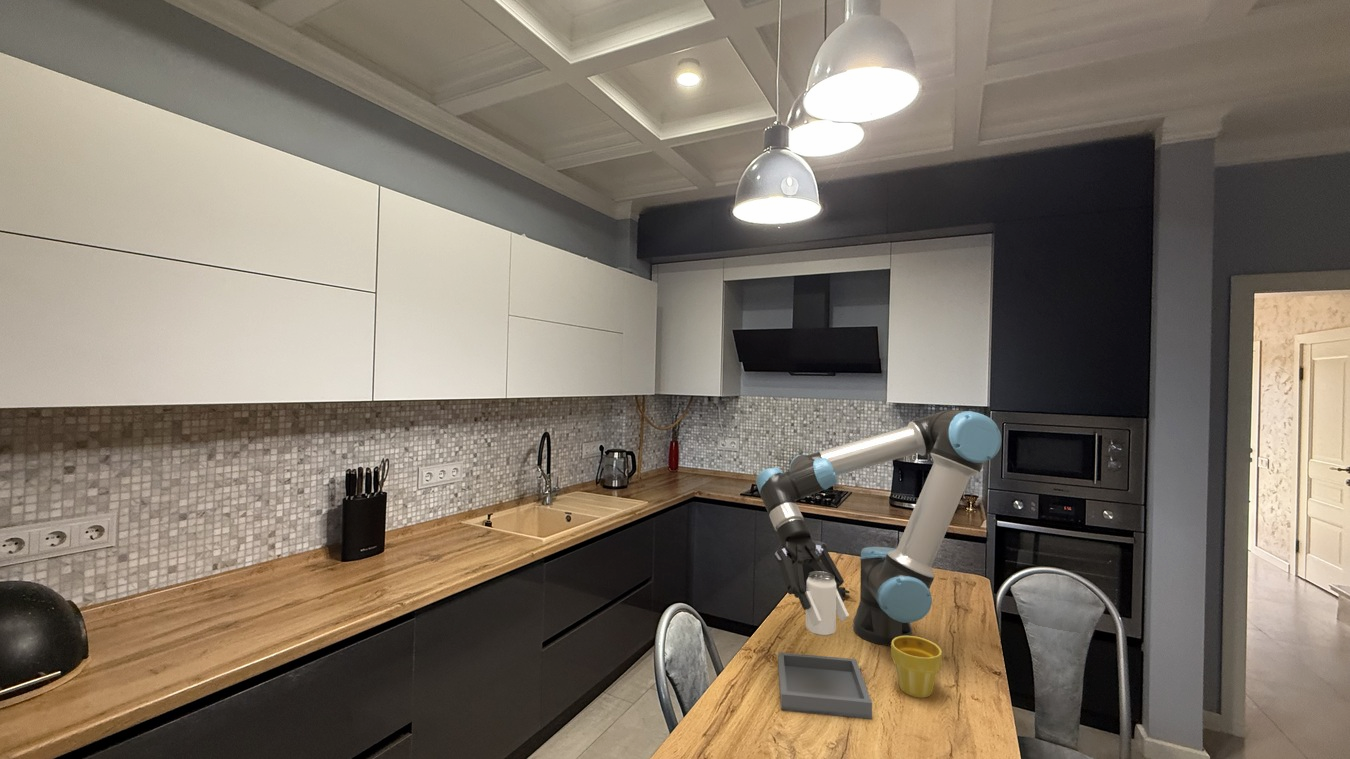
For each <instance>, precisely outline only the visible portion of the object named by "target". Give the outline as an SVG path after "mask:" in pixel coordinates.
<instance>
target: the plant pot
mask: <svg viewBox="0 0 1350 759" xmlns="http://www.w3.org/2000/svg"><path fill="white" fill-rule="evenodd" d="M890 656H891V659H892V660H893V662H894V665H895V670H896V676H897V682H898V686H899V688H900V690H901V691H902V692H903V693H904V694H907V695H909V696H911V697H914V698H921V699H923V698H924V699H925V698H928V697H930V696H931V695H932V693H933V690H934V685H935V681H936V678H937V675H938V671H939V670H941V668H942V662H943V651H942V649H941V647H940V646H939V645H938V644H936V643H935V642H934V641H931V640H928V639H926V638H924V637H920V636H914V635H912V636H899V637H896V638H894V639H893V640H892V642H891V645H890Z"/></svg>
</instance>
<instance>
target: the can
mask: <svg viewBox="0 0 1350 759" xmlns="http://www.w3.org/2000/svg"><path fill="white" fill-rule="evenodd" d="M834 578H835V577H834V575H832V574H830V573H827V572H821V571H814V572H810V573H809V577H808V579H807V583H806V591H809V592H810V594H811V596H812V599H813V601H814V603H815V606H816V608H817V611H818V613H819V615H820V618H821V620H822V621H821V622H819V623H818V624H817V625H816V626H813V625H812V622H811V620H810V617H809V615H808V612H807V610H805V628H806V630H807V631H808V632H810V633H811V634H813V635H816V636H822V637H825V636H826V637H827V636H832V635H834V634H835V632H836V630H837V628H836V627H837V624H836V623H837V613H836V582H835V580H834ZM806 591H805V592H806Z"/></svg>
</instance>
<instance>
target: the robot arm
mask: <svg viewBox="0 0 1350 759" xmlns="http://www.w3.org/2000/svg"><path fill="white" fill-rule="evenodd" d="M1001 446H1002V434H1001V431H1000V429H999V426H998V425H997V423H996V422H995V421H994V420H993V419H992V418H991V417H989V416H987V415H986V414H985V415H984V414H982V413H980V412H975V411H972V410H971V411H970V410H966V411H965V410H957V409H949V410H948V409H947V410H941V411H939V412H936V413H933V414H931V415H928V416H925V417H924V416H923V417H921V418H919V419H915V420H913V421H909V423H908V424H907V426H905V427H901V428H897V429H895V430H891V431H887V432H883V433H881V434H880V433H879V434H877V435H873V436H870V437H867V438H862V439H860V440H859V439H858V440H857V441H853V442H849V443H846V444H841V445H838V446H835V447H831V448H828V449H824V450H821V451H818V452H814V453H811V454H810V453H809V454H799V455H796V456H794V457H793V458H792V459H791V462H790V463H789V470H788V471H785V472H783V471H782V469H780V468H778V467H772V468H770V467H768V468H766V469H763V470H762V471H761V472H760V473H758V474H757V476H756V479H755V484H756V486H757V490H758V493H759V496H760V498H761V501H762V502H763V505H764V507H765V509H766V511H767V514H768V517H769V519H770V521H771V524H772V525H773V528H774V531H775V532H776V536H777V539H778V541H779V543H780V546H782V548H778V549H777V550H776V552H775V553H774V555H773V557H774V559H776V560H775V561H776V562H777V563H778V565H779V568H780V572H781V574H782V575H781V576H782V579H783V581H784V584H785V588H786V591H787V593H788V595H791V596H792V595H793V596H794V597H795V598H796V599H799V603H800V605H801V606H802V609H803V610H805V611H806V610H807V612H808V615H809V617H810V620H811V622H812V625H813V626H816V625H817V624H818V623H819V622H821V621H822V620H821V618H820V615H819V613H818V611H817V608H816V606H815V603H814V601H813V599H812V596H811V594H810V592H809V591H805V584H804V575H803V566H802V563H807V564H808V565H809V566H810V567H812V568H813V569H814V571H821V572H827V573H830V574H832V575H834V577H835V578H834V580H835V582H836V616H837V617H838V620H839V621H840V622H844V621H845V620H846V619H847V618H848V617H850V614H849V612H848V610H847V608H846V606H845V604H844V602H845V599H844V596H842V594H841V592H840V589H839V587H841V586H842V585H843V584H844V583H845V582H844V579H843V577H842V575H841V573H840V572H839V569H838V568H837V566H836V564H835V562H834V560H833V559H832V557H831V555H830V554H829V551H828V545H827V544H826V543H825V544H826V545H827V546H826V545H825V544H822V546H820V545H815V543H814V542H813V541H814V540H813V539H812V538H811V532H810V529H809V528H808V526H807V523H806V521H804V516H803V514H802V513H801V510H800V508H799V506H798V504H797V502H796V501H798V500H801V499H804V498H806V497H810V496H811V495H814V494H817V493H819V492H821V491H825V490H828V489H829V488H831V487H834V486H836V484H838V476H840V475H843V474H847V473H851V472H854V471H859V470H863V469H865V468H869V467H873V466H877V465H879V464H883V463H887V462H891V461H895V460H898V459H901V458H905V457H909V456H912V455H915V454H918V455H920V456H927V455H930V456H931V458H932V461H933V463H932V466H931V469H930V470H929V473H928V474H927V477H926V479H925V482H924V485H923V487H922V489H921V492H920V493H919V497H918V498H917V500H916V503H915V506H914V508H913V510H912V512H911V515H910V517H909V519H908V522H907V524H906V526H905V529H904V532H903V533H902V535H901V537H900V540H899V542H898V545H897V547H896V548H894V547H893V548H892V547H886V546H867V547H864V548H862V549H861V552H860V558H859V560H860V578H859V579H860V593H859V594H860V595H859V596H860V597H859V598H860V599H859V600H860V601H859V604H858V607H857V609H856V612H855V615H854V618H853V624H852V625H853V632H854V633H855V634H856V635H858V637H860V638H862V639H863V640H866V641H868V642H871V643H873V644H878V645H884V646H891V642H892V640H893V639H894V638H896V637H899V636H913V628H912V625H911V623H913V622H918V621H921V620H922V619H924V618H925V617H926V616H927V615H928V613H929V612H930V610H931V607H932V606H933V605H932V603H933V599H932V594H931V590H930V588H931V587H932V583H933V582H934V579H935V577H936V576H935V575H936V574H935V572H934V571H933V568H932V567H933V563H934V561H935V559H936V557H937V554H938V552H939V549H940V547H941V545H942V542H943V541H944V538H945V537H946V536H945V535H946V534H947V530H948V529H949V527H950V525H951V522H952V521H953V517H954V515H955V512H956V510H957V508H958V506H959V503H960V501H961V498H962V497H963V494H964V492H965V490H966V488H967V485H968V482H969V480H970V478H971V477H974V476H977V475H979V474H980V473H981V471H982V469H983V466H984V464H985V462H987V461H989V460H992V459H993V458H994V457H995V456H997V455H998V452H999V451H1000V449H1001ZM815 551H816V552H817V554H816V552H815ZM788 558H789V559H790V561H791V563H790V561H789V559H788ZM812 560H813V561H812ZM820 560H821V561H820Z"/></svg>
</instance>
